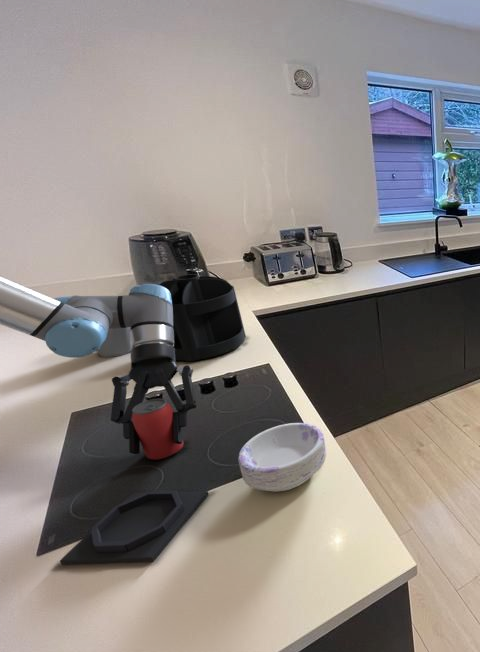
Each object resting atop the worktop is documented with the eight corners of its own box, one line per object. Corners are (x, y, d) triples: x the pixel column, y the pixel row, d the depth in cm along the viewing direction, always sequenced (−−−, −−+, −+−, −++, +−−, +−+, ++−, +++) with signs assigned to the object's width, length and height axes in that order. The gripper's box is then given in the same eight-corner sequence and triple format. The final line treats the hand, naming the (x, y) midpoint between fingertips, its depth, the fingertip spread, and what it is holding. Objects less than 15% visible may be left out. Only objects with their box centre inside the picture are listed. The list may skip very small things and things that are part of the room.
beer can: (152, 465, 84) (134, 418, 80) (141, 453, 88) (123, 407, 83) (189, 448, 89) (174, 403, 85) (177, 437, 93) (162, 393, 88)
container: (255, 348, 136) (238, 277, 127) (170, 370, 121) (144, 292, 112) (238, 329, 151) (222, 264, 141) (160, 346, 136) (136, 275, 126)
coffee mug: (137, 340, 139) (127, 314, 135) (143, 349, 133) (133, 322, 129) (82, 353, 130) (71, 325, 126) (86, 363, 124) (74, 334, 120)
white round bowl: (343, 456, 89) (338, 427, 86) (294, 510, 75) (286, 478, 72) (285, 444, 92) (278, 416, 89) (227, 494, 78) (217, 462, 75)
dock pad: (61, 565, 64) (55, 554, 63) (133, 496, 77) (128, 486, 76) (153, 561, 65) (148, 551, 64) (208, 494, 78) (205, 484, 77)
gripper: (209, 346, 99) (217, 437, 92) (104, 361, 90) (104, 464, 83) (200, 334, 93) (208, 431, 86) (86, 350, 84) (84, 459, 77)
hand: (157, 447), depth 84 cm, fingers closed on beer can, 6 cm apart
